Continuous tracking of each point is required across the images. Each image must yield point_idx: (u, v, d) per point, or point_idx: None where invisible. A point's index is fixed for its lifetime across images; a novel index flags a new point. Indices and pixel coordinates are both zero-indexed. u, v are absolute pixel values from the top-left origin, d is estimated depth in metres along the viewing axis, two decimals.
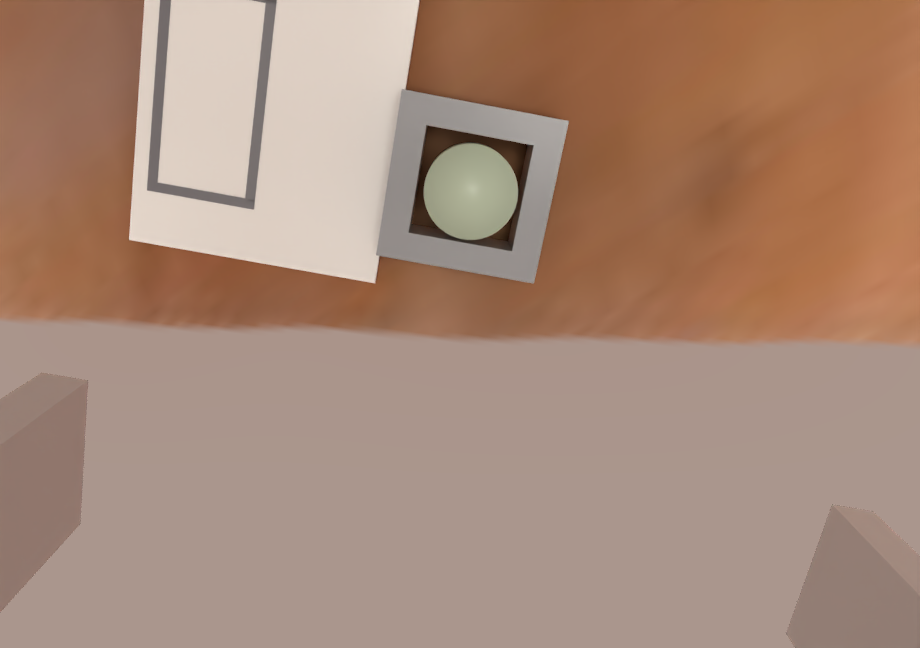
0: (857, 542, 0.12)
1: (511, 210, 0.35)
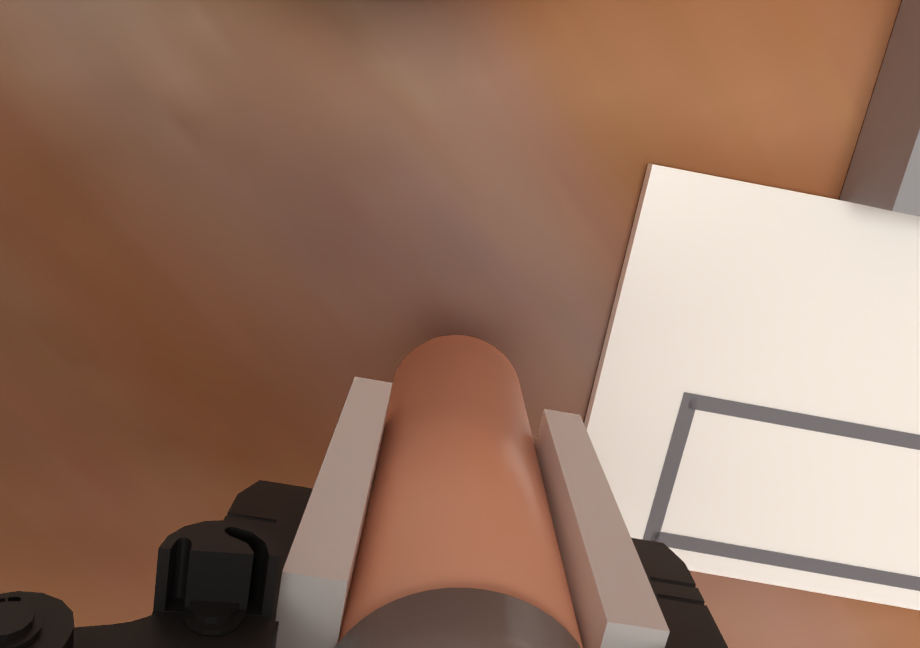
0: (547, 436, 0.14)
1: None
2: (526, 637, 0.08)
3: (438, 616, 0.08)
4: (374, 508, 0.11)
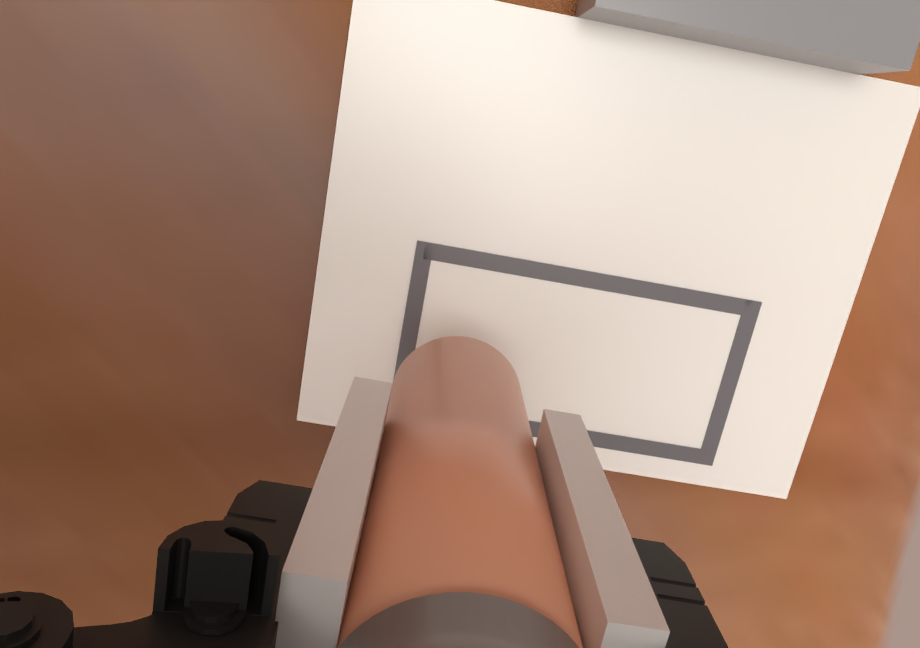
0: (547, 436, 0.14)
1: None
2: (526, 642, 0.08)
3: (438, 621, 0.08)
4: (374, 511, 0.11)
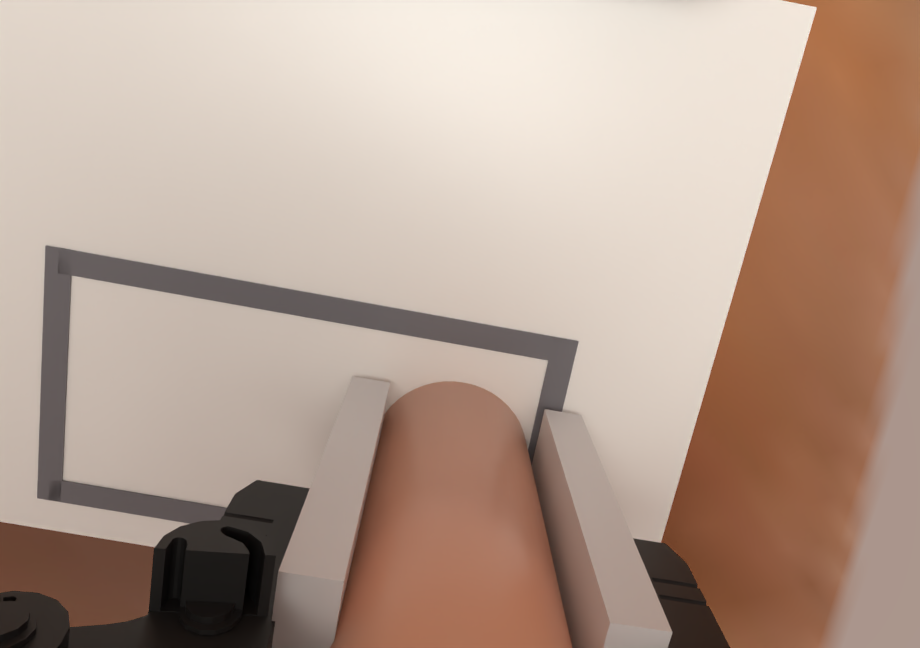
0: (548, 437, 0.14)
1: None
2: None
3: None
4: None
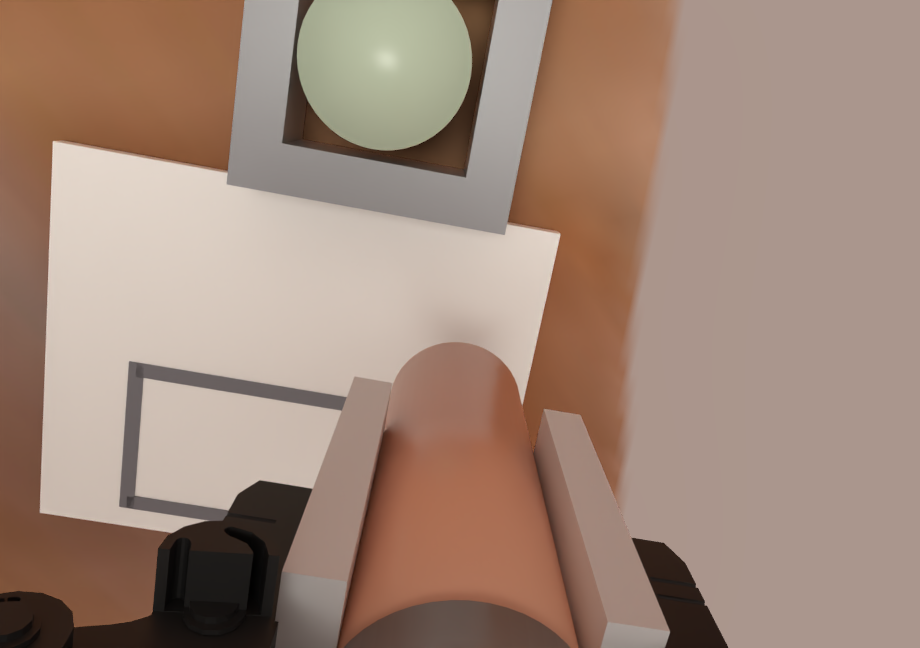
0: (547, 436, 0.14)
1: None
2: None
3: (442, 629, 0.08)
4: (375, 516, 0.11)
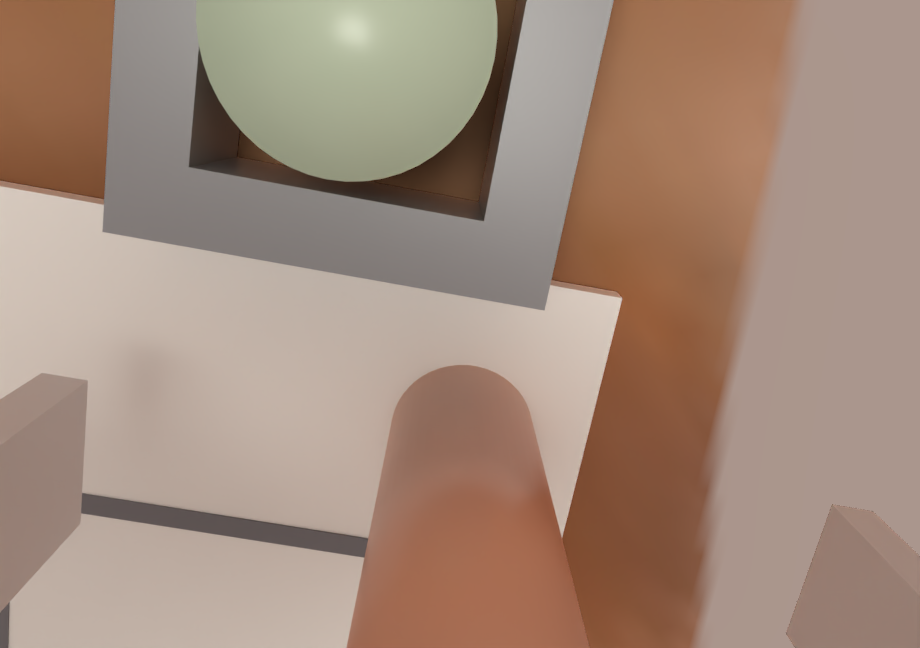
0: (857, 543, 0.12)
1: None
2: None
3: None
4: (374, 582, 0.10)
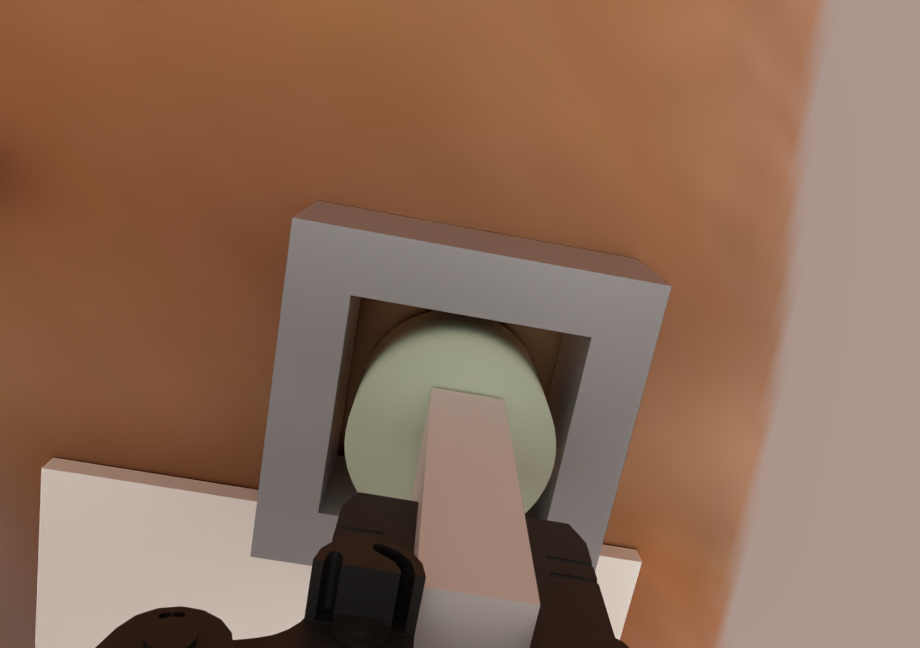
0: None
1: (490, 362, 0.15)
2: None
3: None
4: None
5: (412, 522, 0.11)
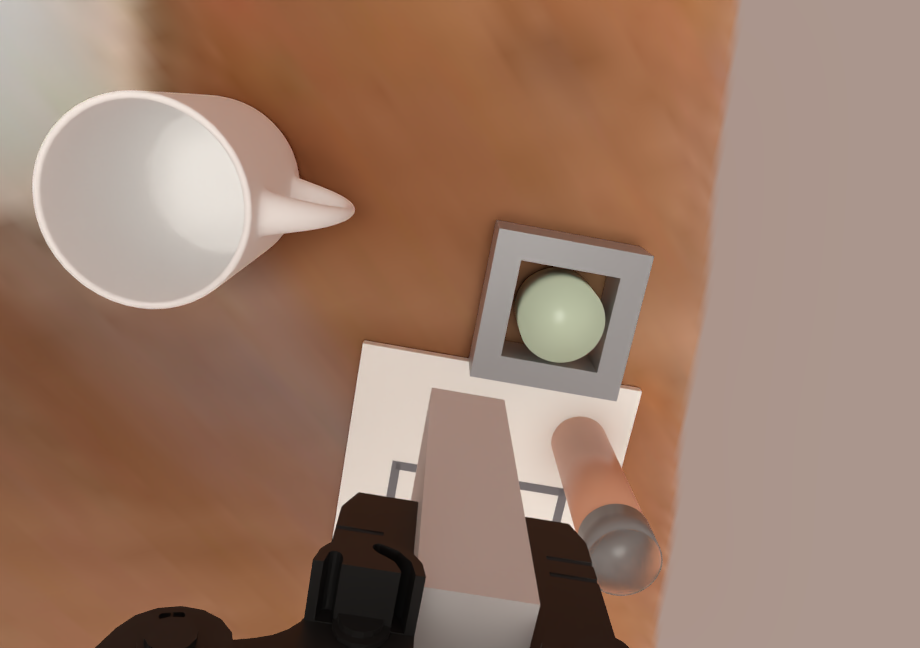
0: None
1: (579, 285, 0.38)
2: (635, 514, 0.33)
3: (614, 509, 0.33)
4: (577, 485, 0.36)
5: (412, 522, 0.11)
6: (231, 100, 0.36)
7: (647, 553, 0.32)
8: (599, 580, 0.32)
